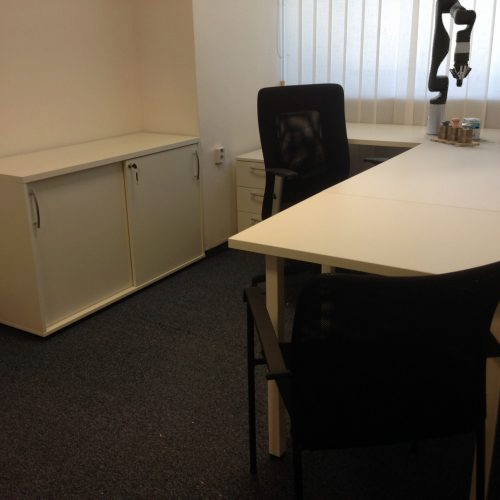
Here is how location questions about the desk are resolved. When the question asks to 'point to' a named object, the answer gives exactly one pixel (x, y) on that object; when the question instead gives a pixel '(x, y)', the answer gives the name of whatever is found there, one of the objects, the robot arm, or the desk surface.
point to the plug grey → (466, 126)
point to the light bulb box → (474, 126)
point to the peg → (445, 122)
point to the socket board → (455, 136)
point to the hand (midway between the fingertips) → (459, 86)
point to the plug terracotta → (456, 122)
